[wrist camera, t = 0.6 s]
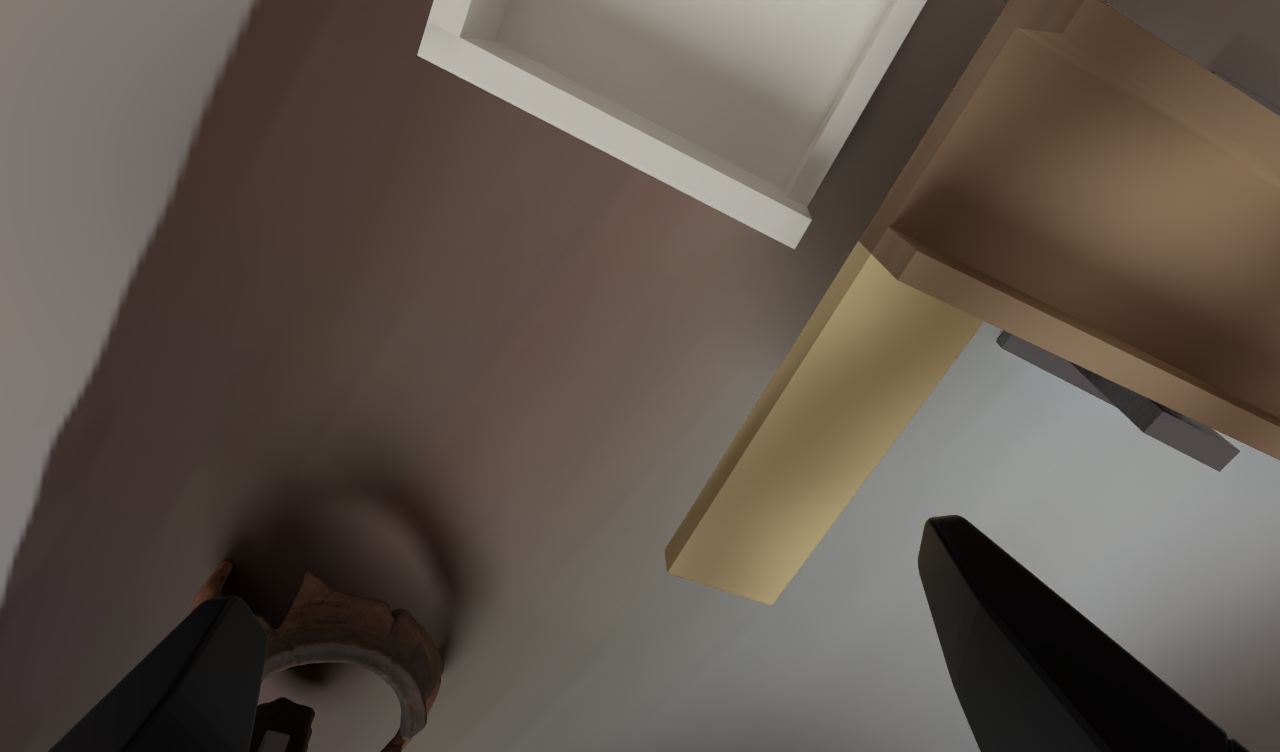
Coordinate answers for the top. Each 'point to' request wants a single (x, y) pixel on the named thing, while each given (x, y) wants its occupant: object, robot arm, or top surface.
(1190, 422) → the fulcrum
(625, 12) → the dish
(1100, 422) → the top surface
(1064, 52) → the tan flat board
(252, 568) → the top surface
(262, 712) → the pottery mug
